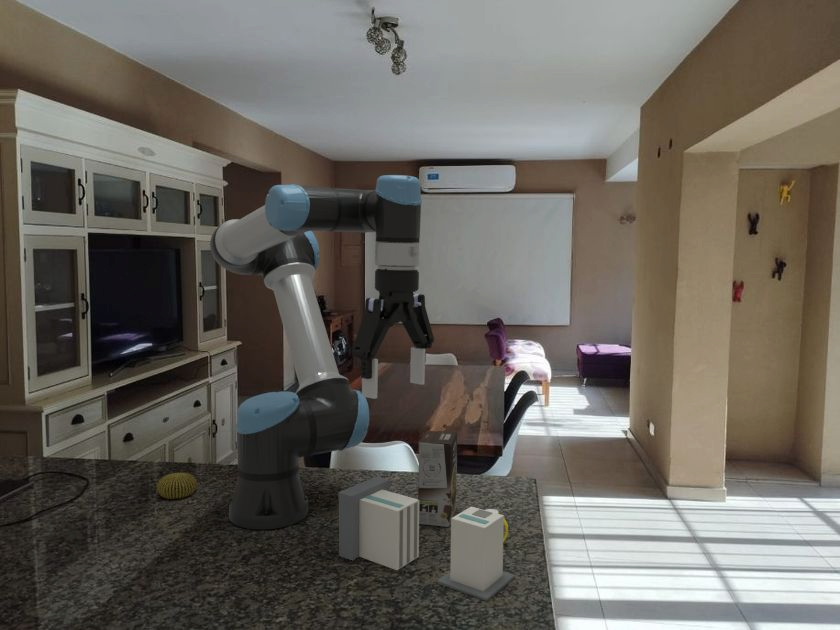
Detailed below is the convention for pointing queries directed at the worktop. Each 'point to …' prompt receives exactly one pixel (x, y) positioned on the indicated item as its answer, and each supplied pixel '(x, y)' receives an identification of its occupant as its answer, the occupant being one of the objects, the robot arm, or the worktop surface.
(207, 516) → the worktop surface
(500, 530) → the stub
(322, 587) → the worktop surface
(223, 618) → the worktop surface
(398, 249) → the robot arm
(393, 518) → the pad
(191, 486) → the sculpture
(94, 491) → the worktop surface
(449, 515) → the coffee box
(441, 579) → the mat
